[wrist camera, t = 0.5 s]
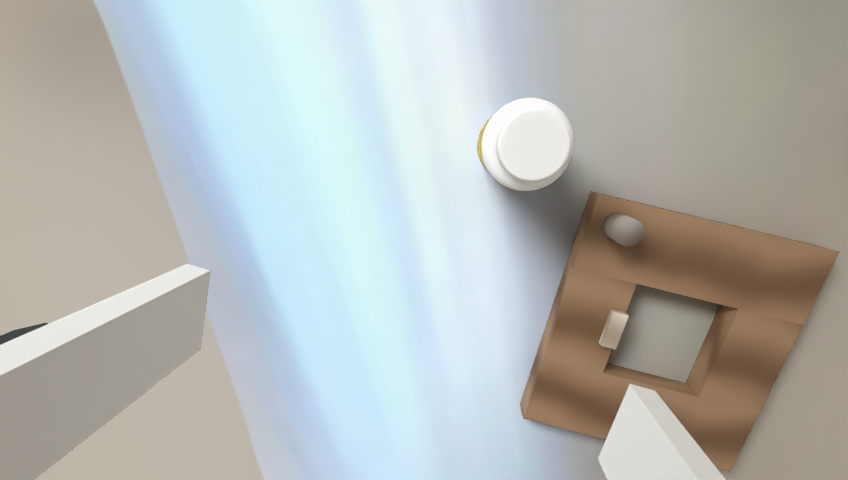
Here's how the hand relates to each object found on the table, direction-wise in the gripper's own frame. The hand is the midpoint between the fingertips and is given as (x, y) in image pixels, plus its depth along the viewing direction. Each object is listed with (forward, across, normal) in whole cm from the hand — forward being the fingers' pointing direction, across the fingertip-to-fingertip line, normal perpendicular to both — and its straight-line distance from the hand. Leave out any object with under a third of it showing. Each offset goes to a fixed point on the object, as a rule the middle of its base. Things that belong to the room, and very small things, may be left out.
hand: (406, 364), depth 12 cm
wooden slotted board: (+22, +20, -4) cm, 30 cm away
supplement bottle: (+23, +4, +8) cm, 24 cm away
